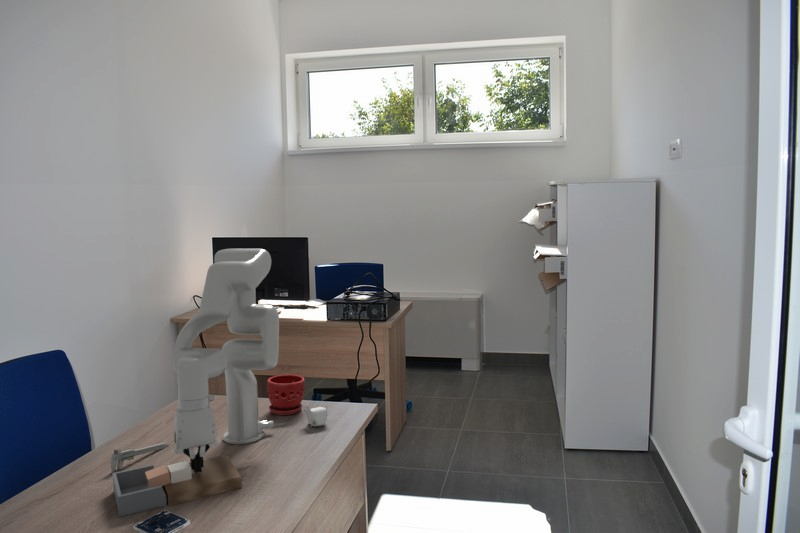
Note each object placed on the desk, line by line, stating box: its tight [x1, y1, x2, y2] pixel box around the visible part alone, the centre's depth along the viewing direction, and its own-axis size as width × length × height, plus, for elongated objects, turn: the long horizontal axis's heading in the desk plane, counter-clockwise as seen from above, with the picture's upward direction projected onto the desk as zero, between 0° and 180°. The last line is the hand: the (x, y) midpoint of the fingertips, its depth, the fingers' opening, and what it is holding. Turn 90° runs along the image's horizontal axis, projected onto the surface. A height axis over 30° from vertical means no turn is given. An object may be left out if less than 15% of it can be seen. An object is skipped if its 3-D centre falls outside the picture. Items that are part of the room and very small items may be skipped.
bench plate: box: [162, 454, 243, 506], centre depth 157 cm, size 18×16×3 cm
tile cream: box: [166, 460, 192, 484], centre depth 154 cm, size 5×5×3 cm
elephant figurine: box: [303, 402, 329, 427], centre depth 198 cm, size 8×10×7 cm
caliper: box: [110, 442, 171, 473], centre depth 174 cm, size 21×1×6 cm, turn 157°
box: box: [112, 463, 168, 518], centre depth 149 cm, size 11×15×5 cm
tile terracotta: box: [145, 464, 171, 488], centre depth 152 cm, size 5×5×3 cm
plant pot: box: [266, 374, 306, 416], centre depth 212 cm, size 13×13×12 cm
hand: (197, 470), depth 156 cm, fingers closed
